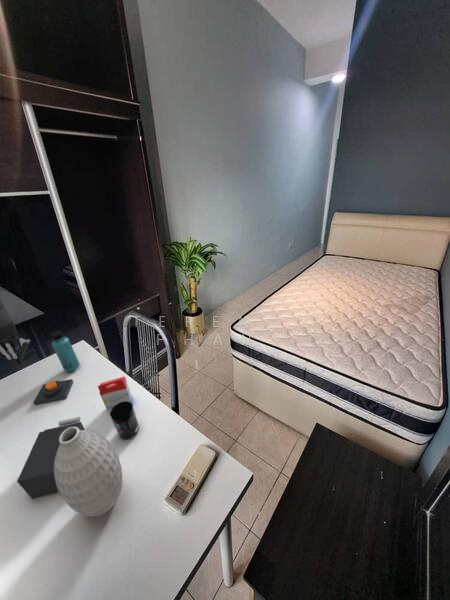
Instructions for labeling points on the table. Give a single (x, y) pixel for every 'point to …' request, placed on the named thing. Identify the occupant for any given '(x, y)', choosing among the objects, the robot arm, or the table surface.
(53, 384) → the button
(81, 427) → the cabinet
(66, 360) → the beverage bottle
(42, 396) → the block
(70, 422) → the drawer
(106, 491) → the vase
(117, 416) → the supplement container
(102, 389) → the ink box
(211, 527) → the table surface
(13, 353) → the robot arm
